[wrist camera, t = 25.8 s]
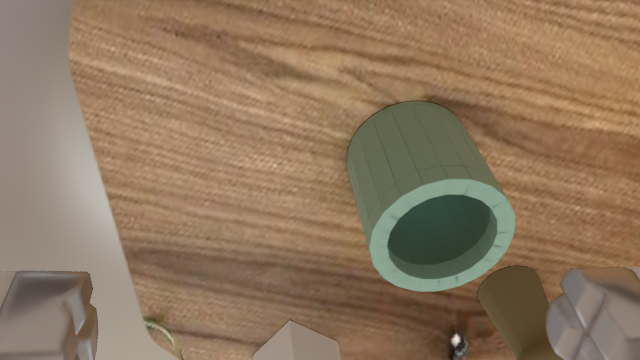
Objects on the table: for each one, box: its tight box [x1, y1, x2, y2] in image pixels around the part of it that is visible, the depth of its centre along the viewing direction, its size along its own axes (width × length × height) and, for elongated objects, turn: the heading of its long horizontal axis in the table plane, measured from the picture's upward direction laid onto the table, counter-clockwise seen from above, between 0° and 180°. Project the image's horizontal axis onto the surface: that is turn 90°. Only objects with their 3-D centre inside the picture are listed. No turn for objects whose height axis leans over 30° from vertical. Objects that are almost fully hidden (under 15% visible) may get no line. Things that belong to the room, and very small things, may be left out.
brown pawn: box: [478, 266, 564, 360], centre depth 53 cm, size 6×6×11 cm
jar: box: [347, 101, 515, 291], centre depth 43 cm, size 10×10×10 cm
